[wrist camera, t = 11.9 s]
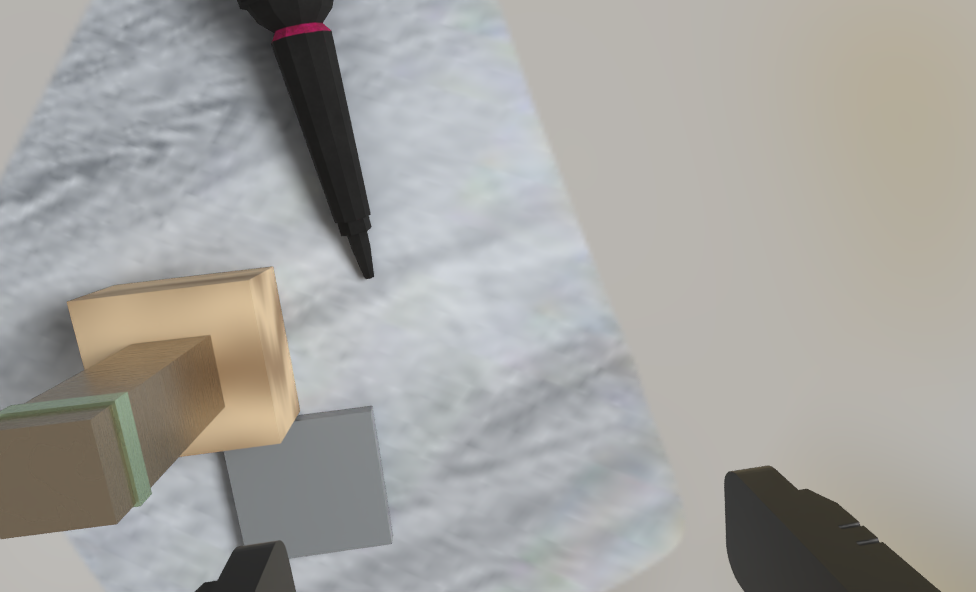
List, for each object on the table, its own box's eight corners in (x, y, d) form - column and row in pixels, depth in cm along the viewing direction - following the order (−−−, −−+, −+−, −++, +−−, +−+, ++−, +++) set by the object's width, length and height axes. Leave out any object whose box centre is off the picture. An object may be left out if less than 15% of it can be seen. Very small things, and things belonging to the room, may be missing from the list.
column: (128, 341, 34) (-37, 431, 22) (212, 332, 34) (93, 415, 23) (146, 418, 35) (-3, 543, 23) (228, 408, 35) (121, 527, 24)
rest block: (114, 285, 38) (66, 301, 33) (273, 266, 39) (248, 280, 34) (150, 430, 40) (109, 466, 35) (300, 410, 41) (280, 443, 36)
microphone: (397, 257, 42) (314, -60, 36) (421, 273, 37) (329, -92, 31) (321, 280, 41) (218, -48, 34) (335, 301, 36) (218, -80, 29)
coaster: (224, 425, 41) (219, 431, 40) (372, 406, 41) (370, 411, 40) (252, 555, 43) (248, 564, 42) (393, 535, 43) (391, 543, 42)
